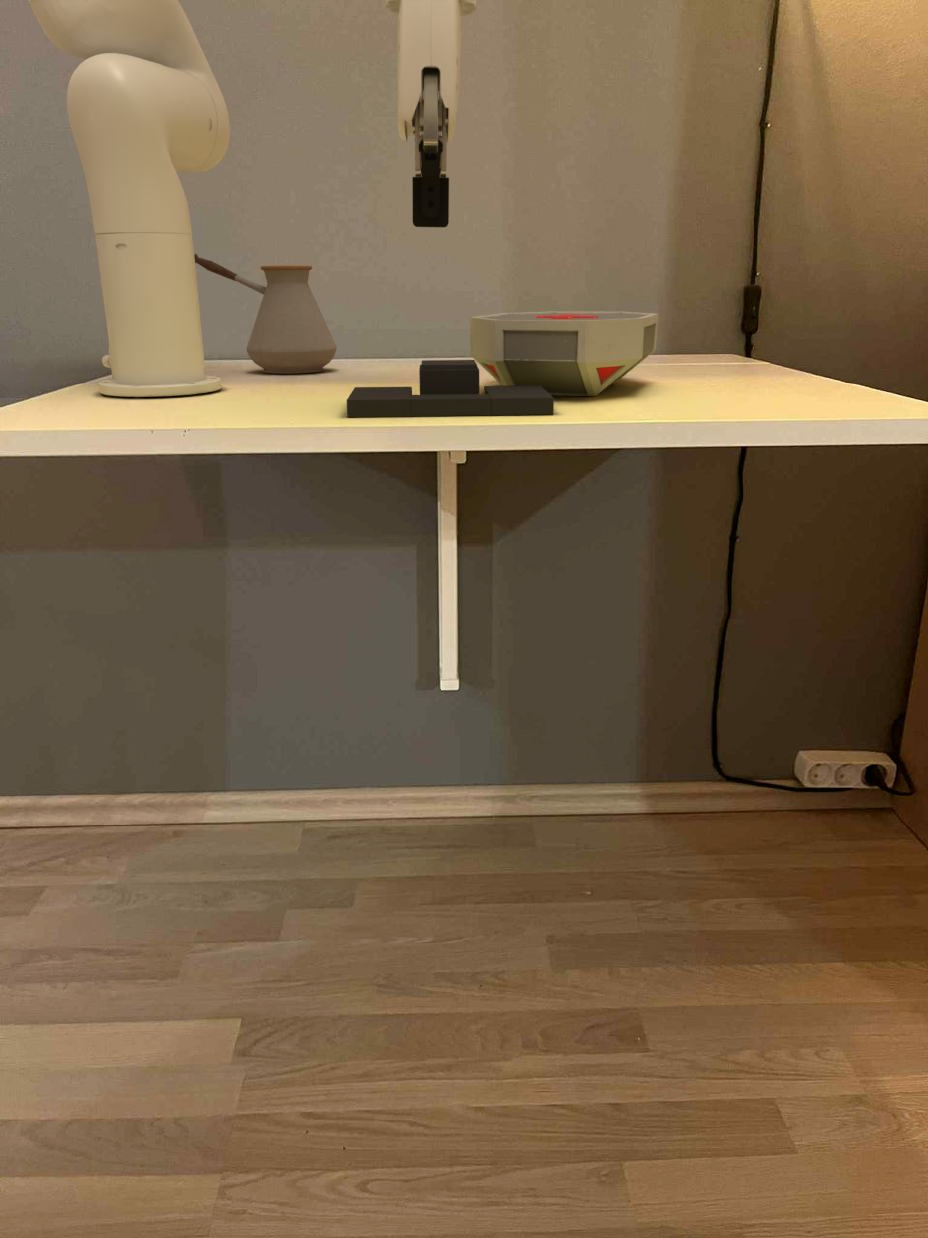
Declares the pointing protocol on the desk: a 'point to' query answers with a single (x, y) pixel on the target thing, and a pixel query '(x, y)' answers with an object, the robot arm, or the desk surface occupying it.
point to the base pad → (449, 402)
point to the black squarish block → (449, 377)
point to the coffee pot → (285, 321)
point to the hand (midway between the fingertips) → (430, 226)
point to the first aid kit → (562, 348)
